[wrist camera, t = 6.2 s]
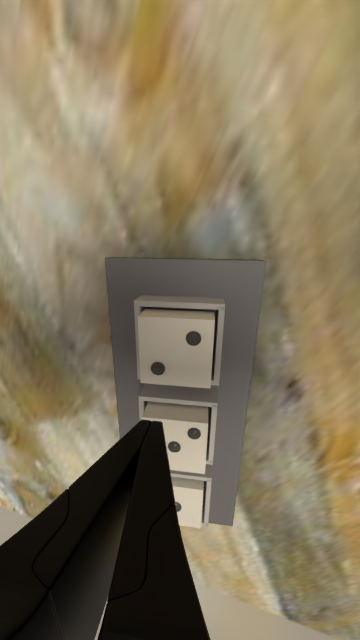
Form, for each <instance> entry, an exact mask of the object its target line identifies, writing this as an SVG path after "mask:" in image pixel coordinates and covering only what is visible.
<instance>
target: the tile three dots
mask: <svg viewBox="0 0 360 640" xmlns="http://www.w3.org/2000/svg"><path fill="white" fill-rule="evenodd" d="M142 420H151V421H161V422H162V423H163V429H164V435H165V441H166V447H167V454H168V460H169V466H170V470H175V471H183V472H191V473H200V474H205V466H206V450H207V435H208V407H206V406H195V405H184V404H173V403H162V402H151V401H148V403H147V406H146V408H145V411H144V414H143V416H142Z"/></svg>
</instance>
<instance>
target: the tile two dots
mask: <svg viewBox="0 0 360 640" xmlns="http://www.w3.org/2000/svg"><path fill="white" fill-rule="evenodd" d="M214 327H215V316H214V312H207V311H185V310H163V309H145V310H144V311H143V312H142V313H141V314H140V315H139V316H138V336H139V359H140V381H141V383H148V384H160V385H172V386H185V387H197V388H209V389H210V388H211V373H212V358H213V342H214Z"/></svg>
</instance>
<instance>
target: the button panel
mask: <svg viewBox="0 0 360 640" xmlns="http://www.w3.org/2000/svg"><path fill="white" fill-rule="evenodd" d="M105 265H106V277H107V289H108V301H109V313H110V325H111V337H112V349H113V361H114V372H115V384H116V396H117V408H118V420H119V432H120V439H121V438H122V437H123V436H124V435H125V434H126V433H127V432H129V431H130V430H131V429H132V428H133V427H134V426H135V425H136V424H137V423H138V422H139V421H140V420H142V416H143V414H144V411H145V408H146V406H147V403H148V401H151V402H162V403H173V404H184V405H195V406H206V407H208V435H207V450H206V466H205V474H200V473H191V472H183V471H175V470H170V472H171V477H178V478H186V479H194V480H202V481H204V486H203V505H202V520H201V526H208V523H214V524H221V525H228V526H233V518H234V510H235V502H236V495H237V487H238V479H239V471H240V463H241V455H242V447H243V439H244V431H245V423H246V416H247V408H248V400H249V392H250V384H251V376H252V368H253V360H254V352H255V344H256V336H257V329H258V321H259V313H260V305H261V297H262V289H263V281H264V273H265V265H266V261H263V260H228V259H178V258H128V257H109V258H105ZM145 309H163V310H185V311H207V312H214V316H215V327H214V342H213V358H212V373H211V388H210V389H209V388H197V387H185V386H172V385H160V384H148V383H141V381H140V359H139V336H138V316H139V315H140V314H141V313H142V312H143V311H144V310H145Z"/></svg>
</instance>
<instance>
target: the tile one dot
mask: <svg viewBox="0 0 360 640" xmlns="http://www.w3.org/2000/svg"><path fill="white" fill-rule="evenodd" d="M171 479H172V485H173V491H174V497H175V505H176V509H177V516H178V521H179V525H182V526H188V527H195V528H201V520H202V505H203V486H204V481H202V480H194V479H186V478H178V477H171Z"/></svg>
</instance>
